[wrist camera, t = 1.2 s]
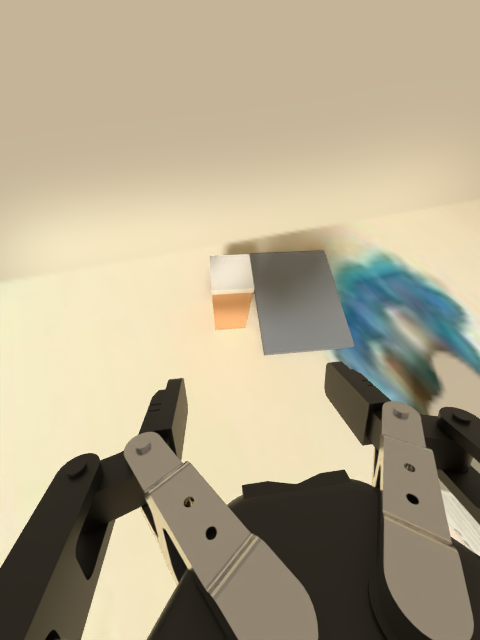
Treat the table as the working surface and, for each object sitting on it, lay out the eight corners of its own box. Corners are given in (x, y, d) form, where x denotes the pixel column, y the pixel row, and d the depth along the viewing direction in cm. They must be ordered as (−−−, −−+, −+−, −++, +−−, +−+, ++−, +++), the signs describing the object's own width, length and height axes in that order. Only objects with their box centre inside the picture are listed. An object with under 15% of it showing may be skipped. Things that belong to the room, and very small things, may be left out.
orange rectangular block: (215, 330, 31) (211, 290, 22) (213, 303, 33) (209, 255, 23) (245, 328, 31) (254, 288, 22) (242, 301, 33) (249, 254, 24)
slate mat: (264, 355, 30) (264, 353, 29) (249, 256, 36) (249, 253, 36) (352, 347, 31) (354, 346, 31) (322, 252, 38) (323, 250, 37)
